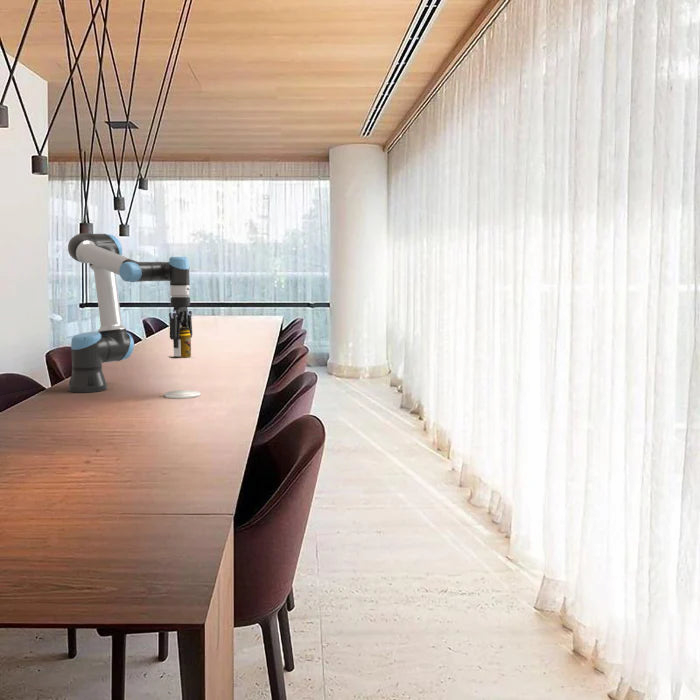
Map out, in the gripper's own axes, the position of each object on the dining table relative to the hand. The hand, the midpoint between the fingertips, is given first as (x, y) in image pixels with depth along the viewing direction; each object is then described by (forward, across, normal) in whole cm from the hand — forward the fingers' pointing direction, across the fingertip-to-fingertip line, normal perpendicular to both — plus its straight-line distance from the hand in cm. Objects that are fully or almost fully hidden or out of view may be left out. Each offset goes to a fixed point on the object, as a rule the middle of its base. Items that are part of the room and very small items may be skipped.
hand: (181, 355), depth 308 cm
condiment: (+1, -1, 0) cm, 1 cm away
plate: (+16, 0, 0) cm, 16 cm away
